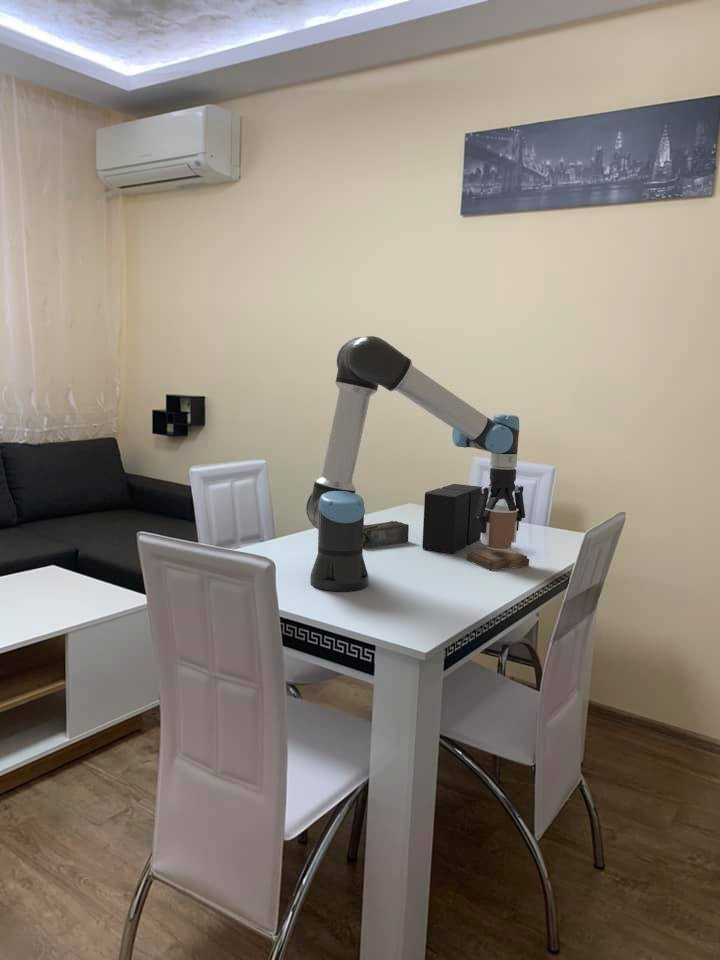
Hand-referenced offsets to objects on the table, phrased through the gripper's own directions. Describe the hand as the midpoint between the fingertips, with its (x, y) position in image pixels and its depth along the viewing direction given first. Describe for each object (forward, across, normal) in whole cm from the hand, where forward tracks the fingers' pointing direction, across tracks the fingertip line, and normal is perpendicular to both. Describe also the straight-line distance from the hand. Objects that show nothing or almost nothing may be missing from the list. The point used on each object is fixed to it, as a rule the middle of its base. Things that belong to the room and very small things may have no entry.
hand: (498, 542), depth 207 cm
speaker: (+7, -1, +24) cm, 25 cm away
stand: (+6, 0, 0) cm, 6 cm away
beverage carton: (+7, -23, +33) cm, 41 cm away
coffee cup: (+2, 0, 0) cm, 2 cm away
